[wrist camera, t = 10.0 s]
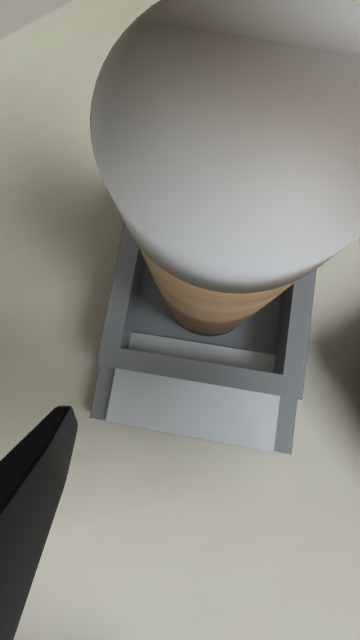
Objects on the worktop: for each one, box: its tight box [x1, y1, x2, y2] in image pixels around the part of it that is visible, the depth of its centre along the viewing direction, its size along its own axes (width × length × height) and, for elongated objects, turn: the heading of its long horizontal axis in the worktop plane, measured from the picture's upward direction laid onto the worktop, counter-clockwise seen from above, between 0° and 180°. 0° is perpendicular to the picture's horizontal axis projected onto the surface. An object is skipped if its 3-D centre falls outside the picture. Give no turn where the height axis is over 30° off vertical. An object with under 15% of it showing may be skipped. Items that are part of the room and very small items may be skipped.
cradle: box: [90, 223, 316, 454], centre depth 17 cm, size 16×11×3 cm
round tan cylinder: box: [90, 0, 360, 337], centre depth 11 cm, size 5×5×13 cm
